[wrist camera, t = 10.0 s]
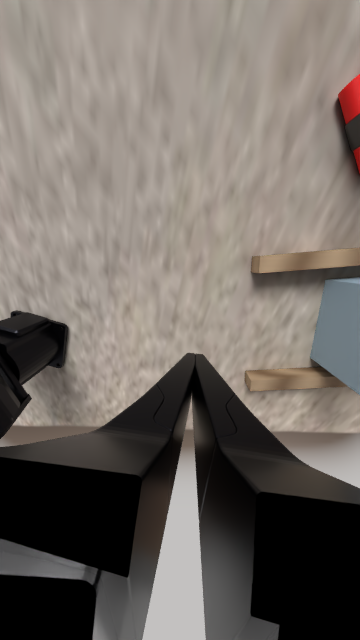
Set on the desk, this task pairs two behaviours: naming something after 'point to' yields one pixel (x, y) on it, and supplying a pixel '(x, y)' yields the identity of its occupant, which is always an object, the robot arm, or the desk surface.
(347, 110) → the tow hook
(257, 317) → the desk surface
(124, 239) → the desk surface
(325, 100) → the desk surface
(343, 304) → the block
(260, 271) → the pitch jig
